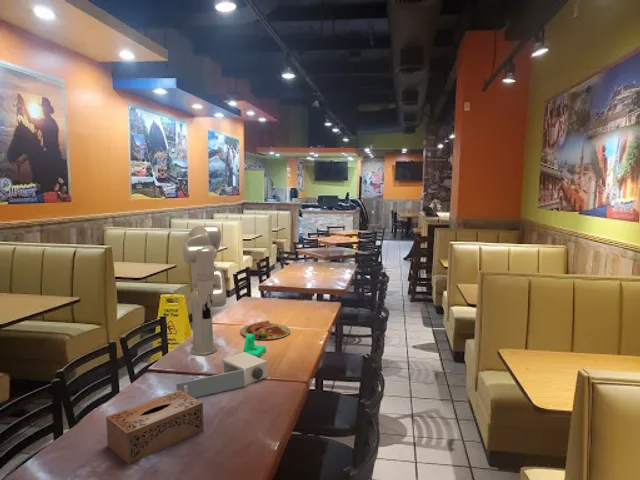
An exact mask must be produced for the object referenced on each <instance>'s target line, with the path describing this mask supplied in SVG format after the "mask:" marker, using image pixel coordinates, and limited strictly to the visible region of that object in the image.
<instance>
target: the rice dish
mask: <svg viewBox="0 0 640 480" xmlns="http://www.w3.org/2000/svg"><path fill="white" fill-rule="evenodd" d="M285 330H286V331H285ZM239 332H240V333H241V334H242V335H243V336H244V337H246V335H247V334H255V340H268V339H271V340H276V339H280V338H283V337H286V336H288V335H289V334H290V333H291V329H290V328H289V327H287V326H286V325H283V324H280V323H273V322H270V320H264V321H263V320H262V321H257V322H254V323H251V324H248V325H245V326H243V327H241V329H240V330H239Z"/></svg>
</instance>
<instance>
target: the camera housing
mask: <svg viewBox="0 0 640 480" xmlns="http://www.w3.org/2000/svg"><path fill="white" fill-rule="evenodd" d="M221 366H222V367H221V368H222V374H223V373H227V372H232V371H237V370H242V369H246V386H247V385H249V384H252V383H255V382H258V381H261V380H262V379H264V378H265V379H266V378H267V377H268V360H265V359H263V358H261V357H256V356H253V355H251V354H248V353H246V352H243V351H242V352H240V353H237V354H234V355H231V356H228V357H224V358H222V360H221Z"/></svg>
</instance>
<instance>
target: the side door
mask: <svg viewBox="0 0 640 480" xmlns="http://www.w3.org/2000/svg"><path fill="white" fill-rule="evenodd" d="M175 384H176V385H175V386H176V390H175V391H178V390H181V391H183V392H184V393H186V394H188V395H190V396H192V397H193V398H195V399H197V398H200V397H204V396H208V395H211V394H212V395H213V394H217V393H221V392H226V391H231V390H235V389H239V388H243V387H246V386H247V385H246V369H242V370H237V371H232V372H227V373H223V372H222V373H220V374H213V375H210V376H203V377H198V378H194V379H190V380H185V381H184V380H183V381H181V382H175Z"/></svg>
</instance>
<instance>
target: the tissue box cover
mask: <svg viewBox="0 0 640 480" xmlns="http://www.w3.org/2000/svg"><path fill="white" fill-rule="evenodd" d="M105 420H106V439H107V447H108V448H109V449H111V450H112V451H113V453H115V454H116V455H118V456H119V458H121V459H122V461H124V462H125V463H126V464H127V465H130V464H132V463H135V462H137V461H139V460H141V459H143V458H146V457H149V456H151V455H152V454H154V453H157V452H159V451H161V450H163V449H166V448H167V447H169V446H171V445H174V444H177V443H179V442H181V441H182V440H186V439H188V438H190V437H191V436H194V435H196V434H199V433H200V432H203V431H204V402H202V401H201V400H198V399H197V398H193V397H192V396H190V395H188V394H186V393H184V392H183V391H181V390H178V391H176V390H175V391H172V392H170V393H167V394H165V395H161V396H159V397H157V398H154V399H153V398H152V399H151V400H148V401H146V402H142V403H140V404H137V405H135V406H132V407H129V408H126V409H123V410H121V411H118V412H116V413H113V414H110V415H107V416H105Z"/></svg>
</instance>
